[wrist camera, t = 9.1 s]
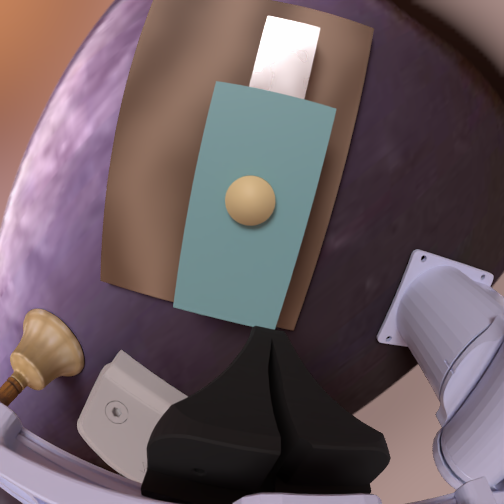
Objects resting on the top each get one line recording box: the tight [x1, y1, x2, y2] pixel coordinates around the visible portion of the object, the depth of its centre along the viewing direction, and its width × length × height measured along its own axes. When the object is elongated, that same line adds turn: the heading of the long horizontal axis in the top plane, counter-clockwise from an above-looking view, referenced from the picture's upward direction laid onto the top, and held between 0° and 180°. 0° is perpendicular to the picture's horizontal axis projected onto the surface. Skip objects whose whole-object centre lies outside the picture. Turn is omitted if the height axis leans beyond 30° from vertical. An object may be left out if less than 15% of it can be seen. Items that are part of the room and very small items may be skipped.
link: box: [249, 16, 320, 99], centre depth 16 cm, size 12×4×2 cm, turn 168°
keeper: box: [173, 81, 336, 330], centre depth 17 cm, size 6×12×4 cm, turn 167°
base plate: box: [101, 0, 374, 330], centre depth 18 cm, size 15×22×1 cm
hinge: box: [77, 350, 188, 483], centre depth 23 cm, size 17×5×10 cm, turn 50°
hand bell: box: [0, 309, 84, 407], centre depth 18 cm, size 8×8×16 cm
